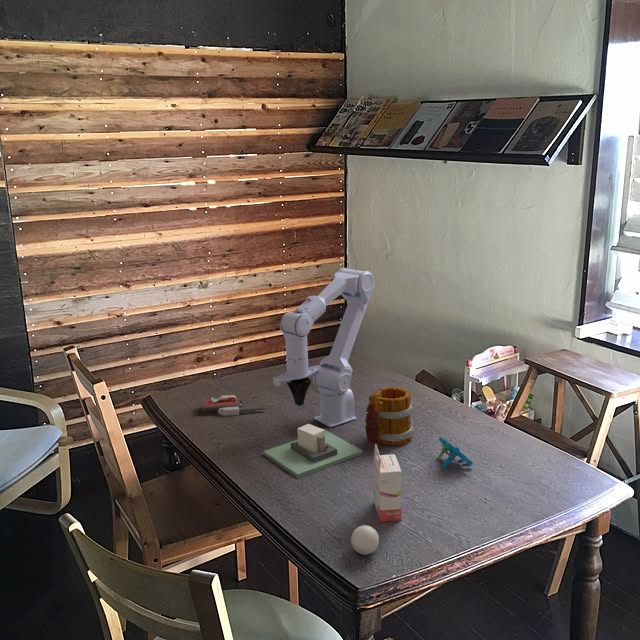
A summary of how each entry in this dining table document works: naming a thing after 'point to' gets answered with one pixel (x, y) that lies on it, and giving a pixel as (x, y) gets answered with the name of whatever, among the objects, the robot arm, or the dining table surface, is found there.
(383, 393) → the mug
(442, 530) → the dining table surface
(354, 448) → the board
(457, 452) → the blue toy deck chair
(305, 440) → the plug
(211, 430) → the dining table surface
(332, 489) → the dining table surface
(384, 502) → the ink cartridge box
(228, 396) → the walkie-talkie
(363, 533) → the white egg
